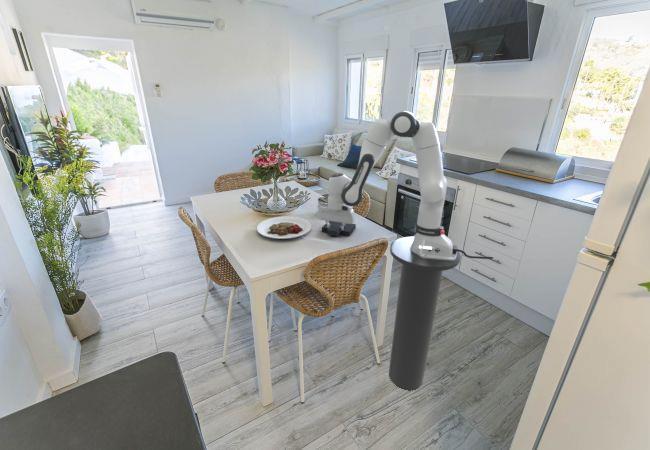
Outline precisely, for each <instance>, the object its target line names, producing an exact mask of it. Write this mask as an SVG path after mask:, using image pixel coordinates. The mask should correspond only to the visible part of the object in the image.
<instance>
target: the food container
mask: <svg viewBox="0 0 650 450" xmlns="http://www.w3.org/2000/svg"><path fill="white" fill-rule="evenodd" d="M317 201H318V204H319V203H321V202H322V203H328V197H326V196H323V197H318V198H317Z"/></svg>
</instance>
